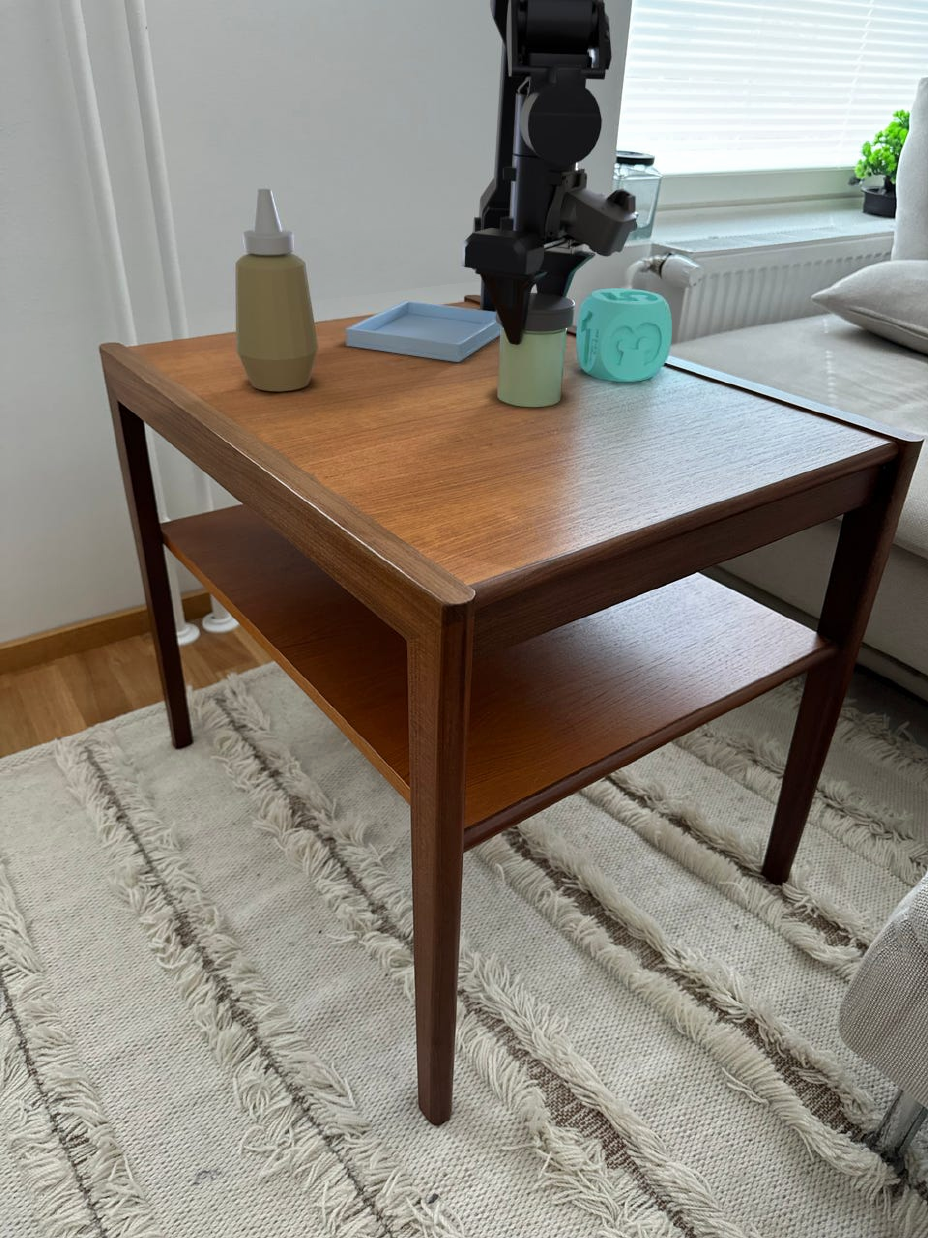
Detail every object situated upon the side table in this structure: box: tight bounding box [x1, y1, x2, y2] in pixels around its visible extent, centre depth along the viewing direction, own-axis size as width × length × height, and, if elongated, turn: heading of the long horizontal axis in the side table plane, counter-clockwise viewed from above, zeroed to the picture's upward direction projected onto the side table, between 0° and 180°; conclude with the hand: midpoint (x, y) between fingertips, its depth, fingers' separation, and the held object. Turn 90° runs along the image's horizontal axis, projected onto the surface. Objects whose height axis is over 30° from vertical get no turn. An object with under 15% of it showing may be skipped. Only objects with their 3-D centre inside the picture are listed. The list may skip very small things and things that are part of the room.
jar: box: [496, 325, 568, 408], centre depth 88 cm, size 6×6×9 cm
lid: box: [495, 292, 575, 331], centre depth 85 cm, size 8×8×2 cm
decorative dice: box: [575, 287, 673, 383], centre depth 96 cm, size 8×8×8 cm
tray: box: [345, 300, 501, 363], centre depth 107 cm, size 16×14×2 cm
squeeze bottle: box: [234, 188, 319, 392], centre depth 86 cm, size 8×8×18 cm
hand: (532, 335), depth 87 cm, fingers closed on lid, 7 cm apart
